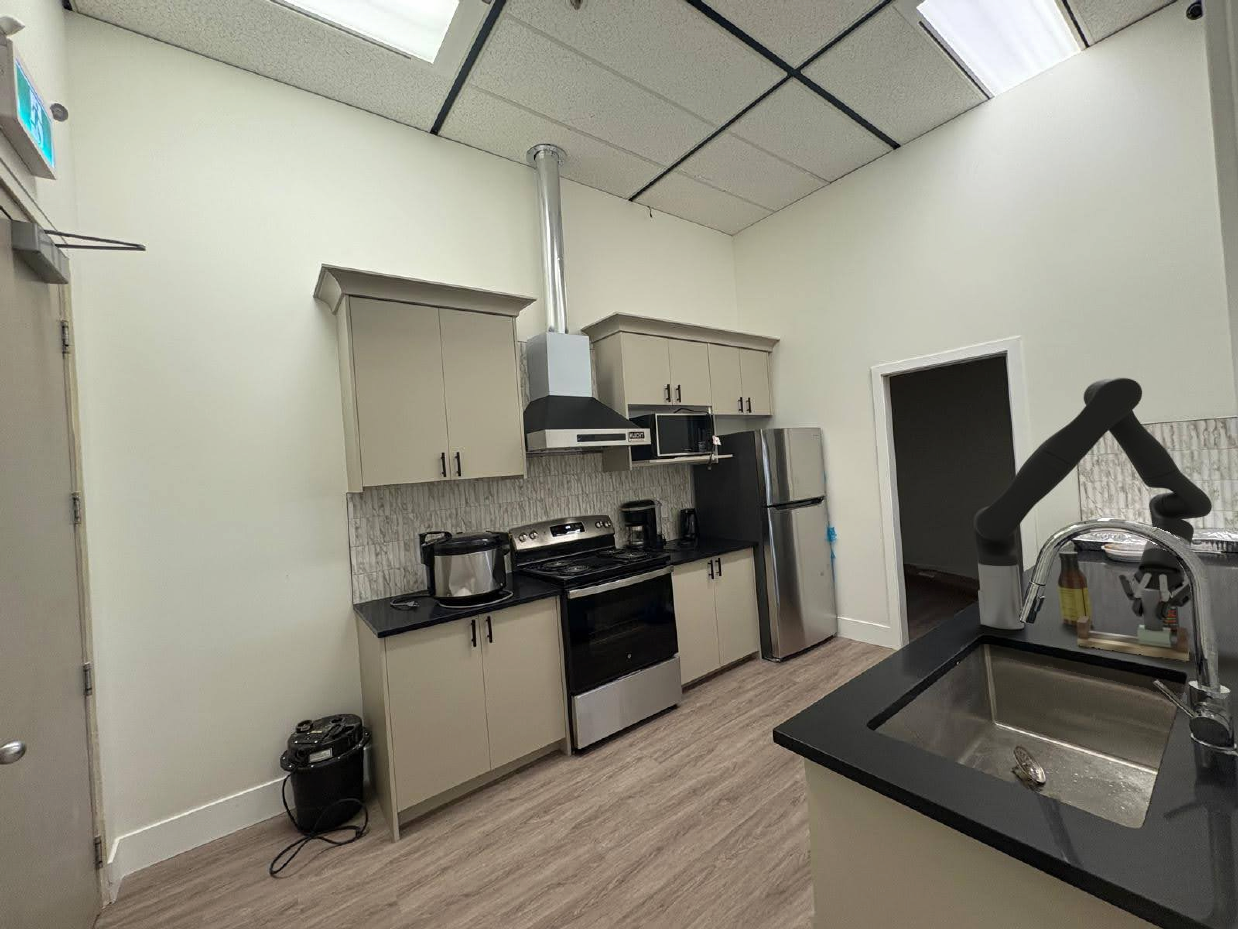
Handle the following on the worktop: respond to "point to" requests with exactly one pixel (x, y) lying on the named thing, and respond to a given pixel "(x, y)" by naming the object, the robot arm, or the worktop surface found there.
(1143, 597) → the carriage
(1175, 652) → the rail board
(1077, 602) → the sauce bottle
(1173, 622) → the supplement bottle
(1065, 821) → the worktop surface
